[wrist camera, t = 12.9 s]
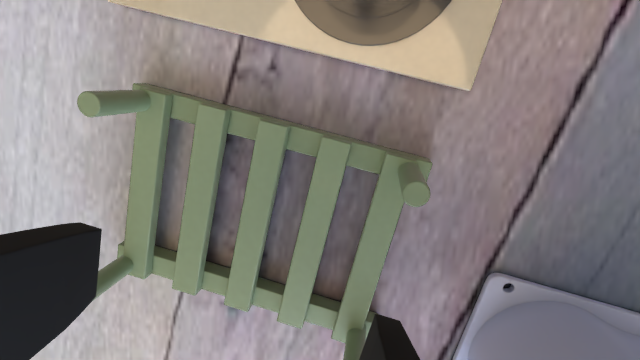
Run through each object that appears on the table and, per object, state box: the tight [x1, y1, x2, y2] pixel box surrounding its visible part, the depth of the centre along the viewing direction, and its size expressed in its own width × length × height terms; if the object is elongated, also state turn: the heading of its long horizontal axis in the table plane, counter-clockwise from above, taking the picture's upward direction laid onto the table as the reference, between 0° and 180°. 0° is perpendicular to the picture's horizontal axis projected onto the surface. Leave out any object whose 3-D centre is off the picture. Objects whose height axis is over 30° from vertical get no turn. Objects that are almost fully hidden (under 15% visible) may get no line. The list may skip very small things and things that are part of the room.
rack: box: [77, 83, 432, 360], centre depth 17 cm, size 15×10×5 cm
